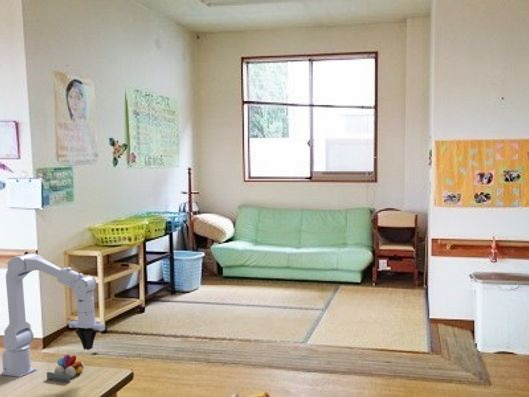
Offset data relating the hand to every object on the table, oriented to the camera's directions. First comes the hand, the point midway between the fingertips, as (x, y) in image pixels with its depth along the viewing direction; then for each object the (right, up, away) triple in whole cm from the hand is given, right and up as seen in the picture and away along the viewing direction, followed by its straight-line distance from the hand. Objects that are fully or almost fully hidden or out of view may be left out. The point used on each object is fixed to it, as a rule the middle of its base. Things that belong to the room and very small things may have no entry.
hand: (88, 348), depth 201 cm
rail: (-10, -11, -1) cm, 15 cm away
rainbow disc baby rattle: (-8, -11, +5) cm, 14 cm away
